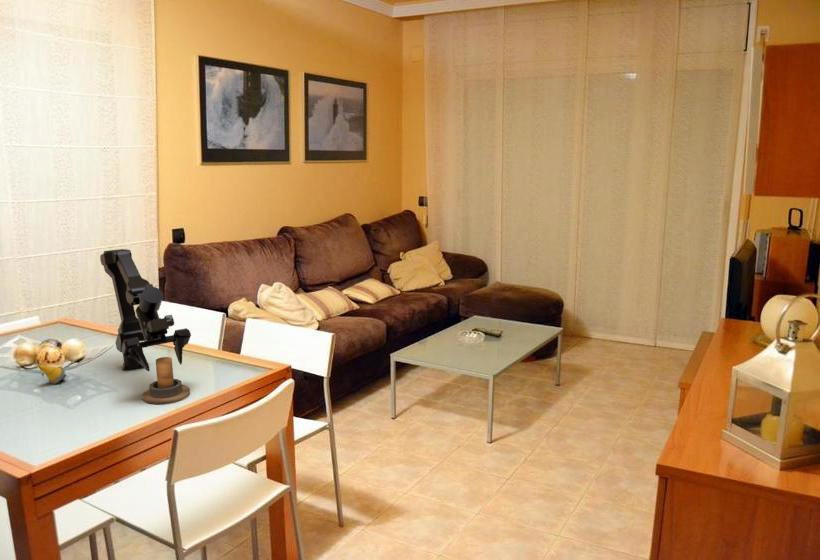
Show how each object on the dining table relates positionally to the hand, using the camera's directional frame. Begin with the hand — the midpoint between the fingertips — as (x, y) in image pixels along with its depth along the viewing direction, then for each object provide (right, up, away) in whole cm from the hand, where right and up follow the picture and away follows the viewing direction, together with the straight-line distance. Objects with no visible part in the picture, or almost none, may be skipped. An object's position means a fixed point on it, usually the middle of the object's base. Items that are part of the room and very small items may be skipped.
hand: (165, 367), depth 195 cm
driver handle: (-1, -8, +3) cm, 8 cm away
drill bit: (-38, -7, +13) cm, 41 cm away
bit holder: (-1, -9, +3) cm, 9 cm away
